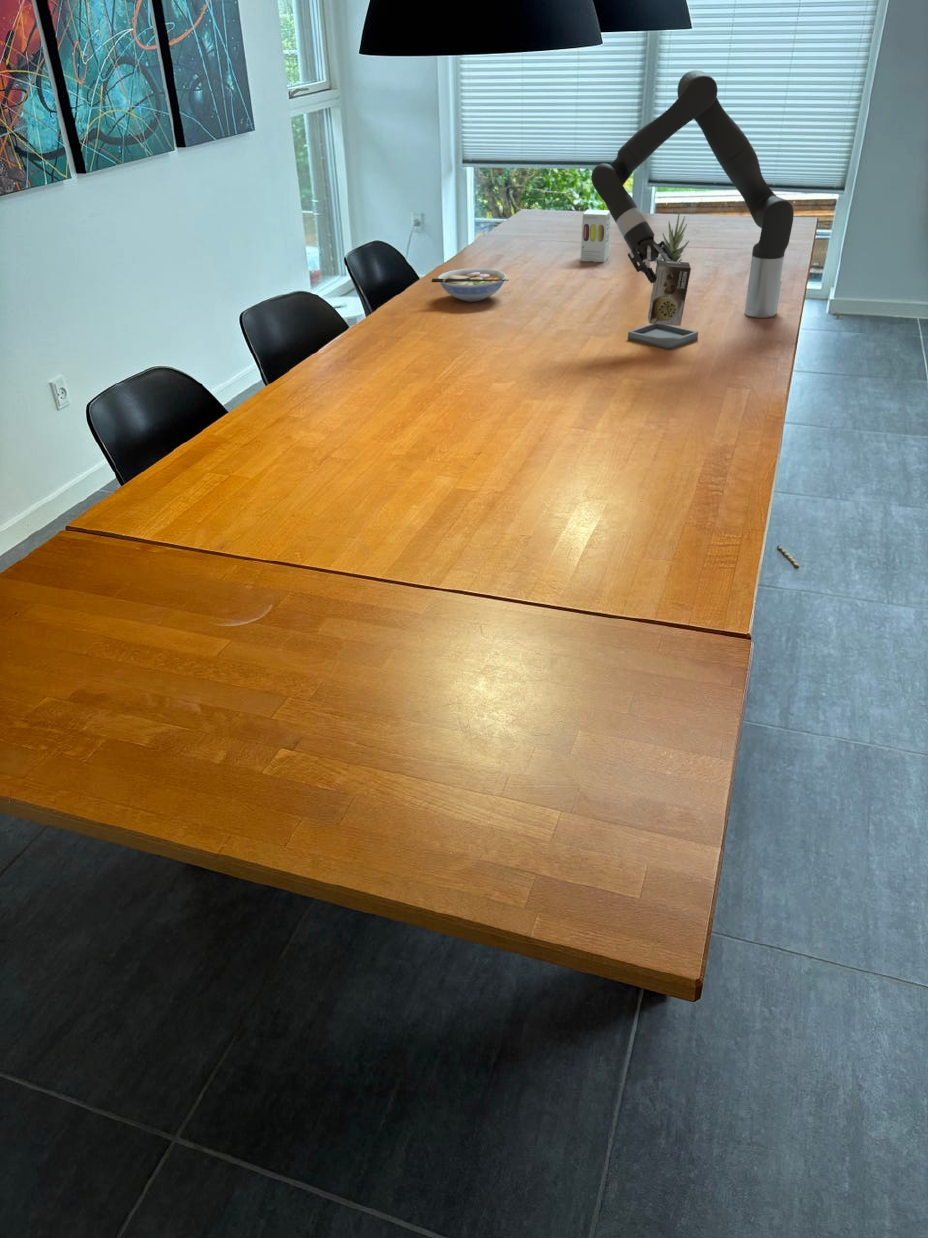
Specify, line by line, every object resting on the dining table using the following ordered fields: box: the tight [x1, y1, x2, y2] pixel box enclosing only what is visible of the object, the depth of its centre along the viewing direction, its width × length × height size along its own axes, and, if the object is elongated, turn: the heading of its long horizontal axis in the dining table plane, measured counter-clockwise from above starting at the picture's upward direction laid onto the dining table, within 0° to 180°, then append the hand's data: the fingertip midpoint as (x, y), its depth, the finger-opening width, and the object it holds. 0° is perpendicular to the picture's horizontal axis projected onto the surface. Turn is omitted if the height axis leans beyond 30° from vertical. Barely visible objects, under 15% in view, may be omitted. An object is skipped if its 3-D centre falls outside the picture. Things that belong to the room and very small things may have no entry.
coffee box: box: [647, 259, 692, 327], centre depth 264 cm, size 9×6×16 cm
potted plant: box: [662, 208, 690, 262], centre depth 313 cm, size 10×10×25 cm
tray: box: [627, 323, 699, 351], centre depth 270 cm, size 13×15×2 cm
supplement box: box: [580, 208, 612, 263], centre depth 351 cm, size 10×9×17 cm
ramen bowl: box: [431, 267, 509, 303], centre depth 312 cm, size 25×23×8 cm
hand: (663, 278), depth 263 cm, fingers closed on coffee box, 8 cm apart
